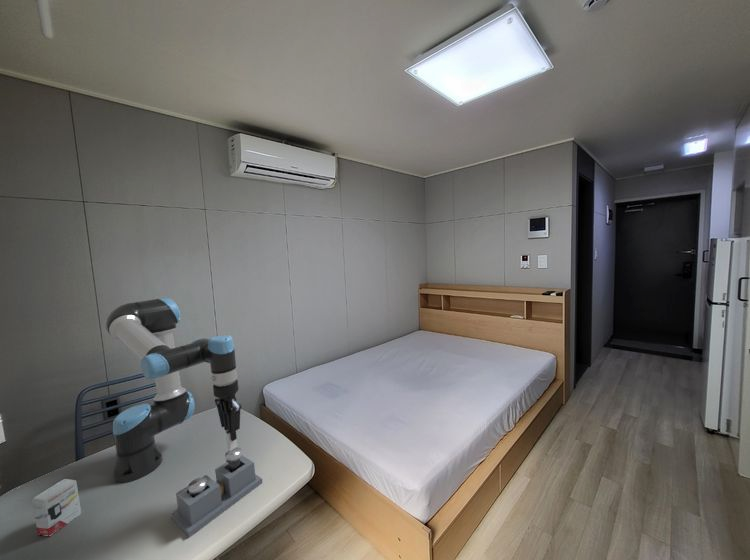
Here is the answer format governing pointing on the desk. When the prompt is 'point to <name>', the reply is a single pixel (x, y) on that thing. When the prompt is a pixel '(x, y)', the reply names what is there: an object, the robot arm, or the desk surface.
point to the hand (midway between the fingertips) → (232, 447)
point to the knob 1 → (197, 486)
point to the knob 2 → (233, 459)
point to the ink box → (56, 506)
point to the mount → (215, 496)
